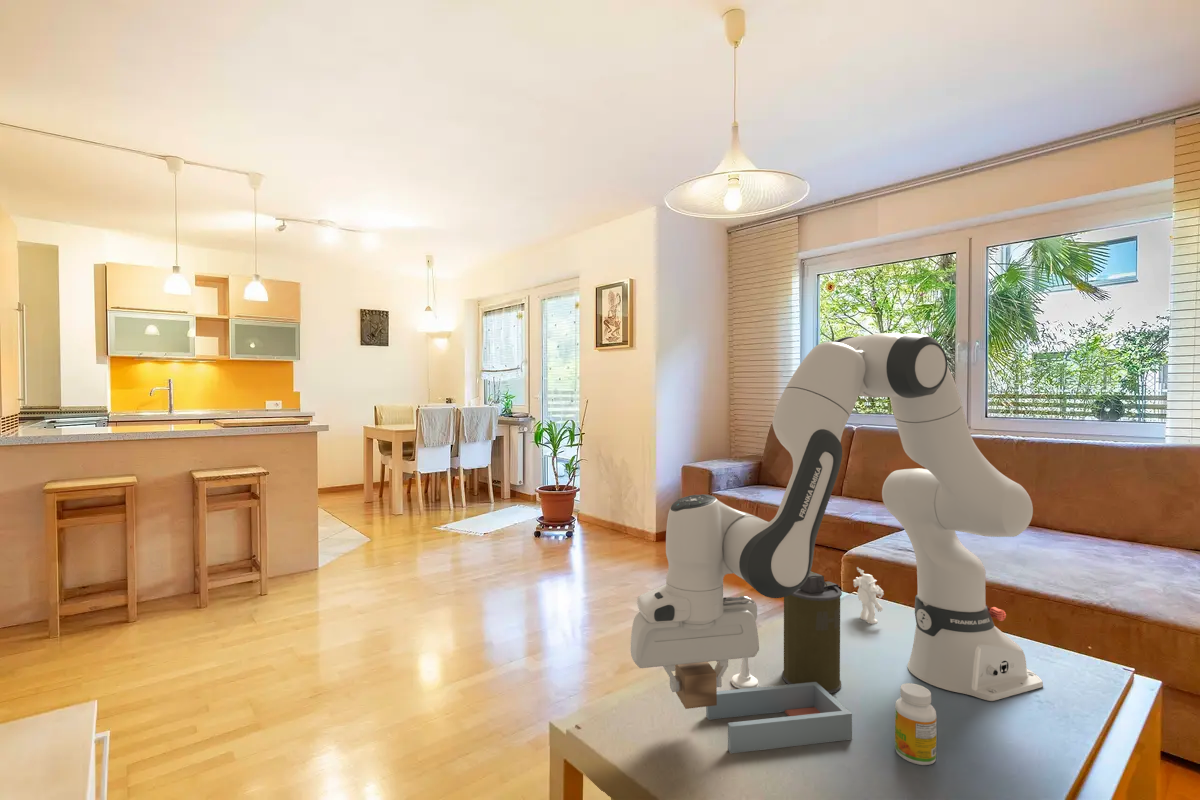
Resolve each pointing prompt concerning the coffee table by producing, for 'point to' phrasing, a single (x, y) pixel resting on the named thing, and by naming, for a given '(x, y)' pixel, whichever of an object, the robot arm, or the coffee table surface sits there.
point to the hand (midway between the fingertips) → (695, 687)
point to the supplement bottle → (915, 725)
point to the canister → (813, 634)
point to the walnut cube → (697, 685)
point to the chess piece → (744, 677)
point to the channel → (807, 720)
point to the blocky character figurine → (868, 596)
